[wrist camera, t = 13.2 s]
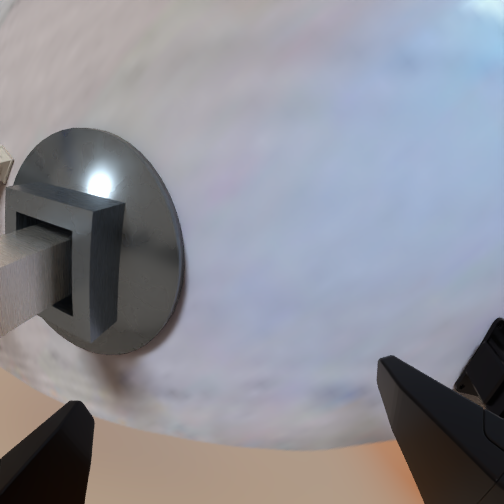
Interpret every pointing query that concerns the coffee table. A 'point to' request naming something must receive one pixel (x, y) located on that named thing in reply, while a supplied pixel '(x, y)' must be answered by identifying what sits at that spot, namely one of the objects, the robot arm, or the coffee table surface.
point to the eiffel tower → (5, 164)
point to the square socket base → (104, 237)
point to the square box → (33, 272)
